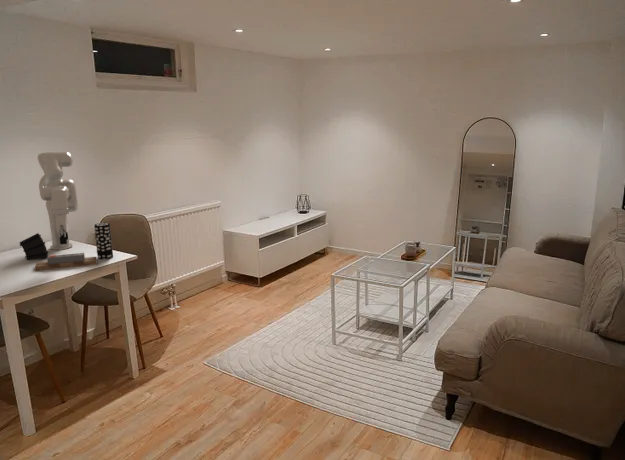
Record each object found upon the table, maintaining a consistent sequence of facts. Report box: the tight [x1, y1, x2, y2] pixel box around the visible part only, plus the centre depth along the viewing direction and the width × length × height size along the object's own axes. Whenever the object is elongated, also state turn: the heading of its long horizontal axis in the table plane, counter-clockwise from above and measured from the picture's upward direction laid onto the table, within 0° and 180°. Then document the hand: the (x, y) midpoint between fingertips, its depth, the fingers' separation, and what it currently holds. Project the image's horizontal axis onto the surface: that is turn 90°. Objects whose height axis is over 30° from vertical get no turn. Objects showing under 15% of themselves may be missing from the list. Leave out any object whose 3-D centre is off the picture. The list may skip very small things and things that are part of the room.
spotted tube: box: [94, 222, 114, 261], centre depth 280 cm, size 8×8×20 cm
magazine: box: [19, 232, 49, 261], centre depth 278 cm, size 4×13×15 cm, turn 104°
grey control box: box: [46, 252, 86, 264], centre depth 266 cm, size 4×18×7 cm, turn 113°
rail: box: [34, 256, 98, 272], centre depth 267 cm, size 8×30×2 cm, turn 113°
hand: (64, 241), depth 264 cm, fingers open, 9 cm apart
